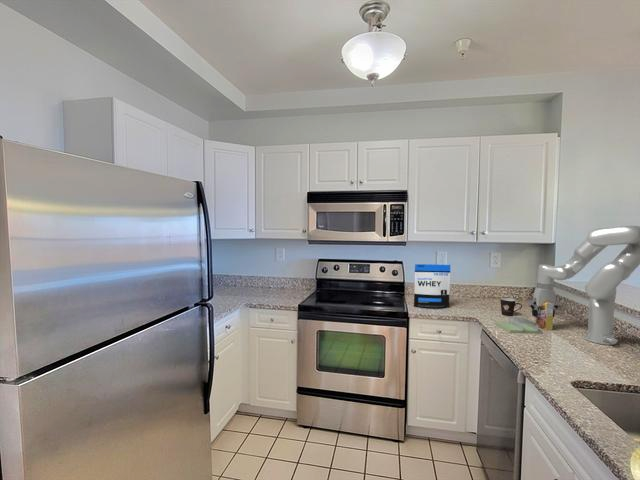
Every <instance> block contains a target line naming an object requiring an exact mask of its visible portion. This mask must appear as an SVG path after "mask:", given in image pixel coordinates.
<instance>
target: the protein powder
mask: <svg viewBox="0 0 640 480" xmlns="http://www.w3.org/2000/svg"><path fill="white" fill-rule="evenodd" d="M451 267H452V265H451V264H433V263H432V264H431V263H429V264H428V263H427V264H419V263H418V264H417V263H415V264H414V290H413V292H414V294H413V297H414V298H413V308H419V309H427V310H443V309H449V308H450V290H451V289H450V288H451V287H450V285H451Z"/></svg>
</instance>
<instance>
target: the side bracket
mask: <svg viewBox="0 0 640 480" xmlns="http://www.w3.org/2000/svg"><path fill="white" fill-rule="evenodd" d="M508 322H509V324H511V325H513V326H515V327H516V328H518V329H520V330H522V331H524V325H526V326H528V327H530V328H532V329H534V330H536V331H538V329H539V327H538V324H536V323H535V321H532V320H529V319H528V318H525V317H517V316H515V317H513V316H508Z"/></svg>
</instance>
